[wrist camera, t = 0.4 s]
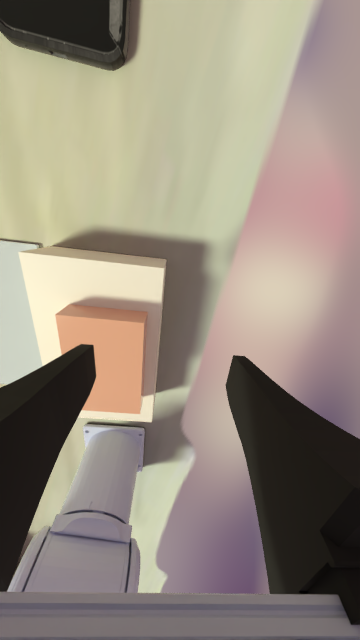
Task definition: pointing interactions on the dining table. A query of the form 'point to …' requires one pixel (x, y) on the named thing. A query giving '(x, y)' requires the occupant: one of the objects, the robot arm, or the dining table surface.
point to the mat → (15, 317)
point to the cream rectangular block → (95, 301)
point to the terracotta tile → (109, 353)
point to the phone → (70, 29)
